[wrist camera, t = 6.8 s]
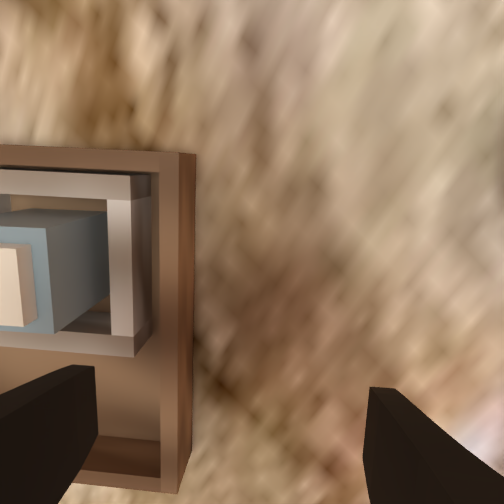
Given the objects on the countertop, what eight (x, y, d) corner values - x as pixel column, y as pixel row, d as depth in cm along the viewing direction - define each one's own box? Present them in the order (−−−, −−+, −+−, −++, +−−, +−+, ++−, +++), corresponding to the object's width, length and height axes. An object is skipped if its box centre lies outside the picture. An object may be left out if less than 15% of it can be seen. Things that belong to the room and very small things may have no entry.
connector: (109, 211, 19) (31, 232, 13) (113, 291, 20) (41, 343, 14) (30, 208, 19) (-82, 226, 13) (37, 287, 20) (-64, 336, 14)
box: (191, 450, 22) (177, 494, 19) (-13, 429, 23) (-57, 468, 20) (195, 154, 19) (178, 152, 16) (-46, 143, 19) (-104, 139, 17)
